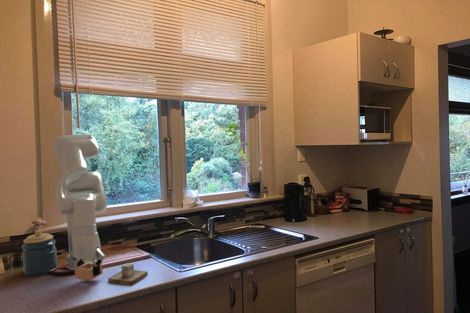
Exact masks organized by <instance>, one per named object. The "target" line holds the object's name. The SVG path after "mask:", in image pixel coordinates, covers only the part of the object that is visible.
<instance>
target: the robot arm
mask: <svg viewBox="0 0 470 313" xmlns="http://www.w3.org/2000/svg"><path fill="white" fill-rule="evenodd" d="M52 149H53V152H54V155H55V158H56V160H57V161H58V163H59V166H60V167H61V171H62V177H61V178H60V180H59V181H58V183H57V185H56V191H55V194H56V203H57V209H58V211H59V213H60V214H62V215H65V219H66V220H65V221H66V227H67V236H68V237H67V240H68V250H69V251H68V252H69V254H67V255H66V257H64V261H65V262H68V263H67V265H66V269H67V268H68V269H71V270H75V268H77V267H79V266H81V265H83V264H84V263H86V262H93V264H94V266H93V275H94V276H97V275H99V274H100V264H103V263H102V262H104V260H105V259H106V257H107V256H106V255H105V254H104V252H103V251H102V250H101V249H102V248H101V241H100V237H99V236H100V235H99V233H98V230H97V220H96V215H98V214H102V213H104V212H105V211H107V209H108V208H107V207H108V204H107V197H106V192H105V188H104V182H103V177H102V175H101V174H100V172H99V171H94V170H93V171H88V165H87V160H86V159H94V158H95V159H96V158H97V157H98V156H99V153H100V152H99V151H100V150H99V149H100V148H99V144H98V142H97V140H96V138H95V137H94V135H91V134H87V133H86V134H67V135H66V134H65V135H59V136H56V137H55V138H54V139H53V140H52ZM64 191H65V192H66V193H67V194H65V192H64ZM68 269H67V270H68ZM99 276H100V275H99Z"/></svg>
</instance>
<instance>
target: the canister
mask: <svg viewBox="0 0 470 313" xmlns="http://www.w3.org/2000/svg"><path fill="white" fill-rule="evenodd" d="M56 242H57V241H56V240H55V239H54V235H52V234H50V233H47V232H43V233H42V231H41V230H35V231H34V234H31V235H28V236H27V237H26V238H24V239H23V244H22V245H21V249H22V250H23V253H22V260H23V261H22V262H23V273H24V275H25V276H27V277H37V276H43V275H44V276H45V275H47V274H50V273H51V272H50V270H52V269H54V268H56V267H57V268H58V266H59V263H58V257H57V247H56V245H55V244H56ZM49 272H50V273H49Z"/></svg>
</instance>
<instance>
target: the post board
mask: <svg viewBox="0 0 470 313" xmlns="http://www.w3.org/2000/svg"><path fill="white" fill-rule="evenodd" d="M120 267H121V271H119V272H117V273H115V274H113V275H112V276H110V277H108V278H107V279H108V280H107V282H108V283H111V284H120V285H128V286H133V285H135V284H136V283H138V282H140V281H141V280H142V279H144V278H146V277H147V276H148V272H149V271H147V270H138V269H137V270H136V269H135V267H134V263H129V262H128V263H127V262H126V263H124V264H122V265H121V266H120Z"/></svg>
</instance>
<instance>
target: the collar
mask: <svg viewBox="0 0 470 313" xmlns="http://www.w3.org/2000/svg"><path fill="white" fill-rule="evenodd" d="M93 266H94V264H93V262H86V263H84V264H83V265H81V266H79V267H77V268H75V271H74V276H75V279H77V280H81V281H88V282H91V281H92V280H94V279H96V278H97V277H99V276H101V275H103V273H104V272H103V270H104V269H103V263H101V264H100V274H99V275H97V276H94V275H93Z"/></svg>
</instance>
